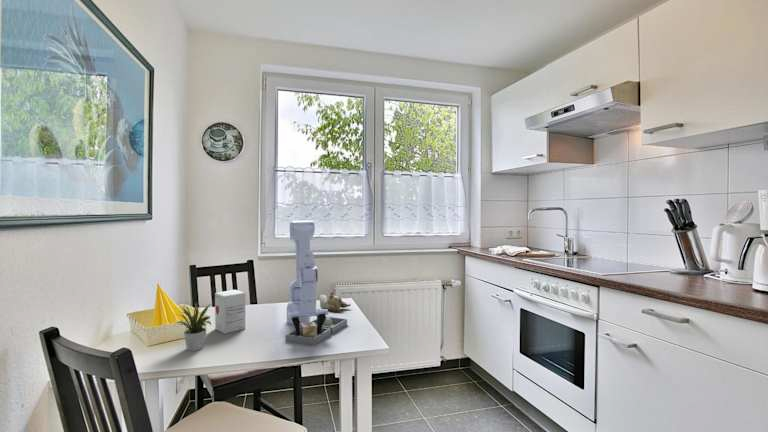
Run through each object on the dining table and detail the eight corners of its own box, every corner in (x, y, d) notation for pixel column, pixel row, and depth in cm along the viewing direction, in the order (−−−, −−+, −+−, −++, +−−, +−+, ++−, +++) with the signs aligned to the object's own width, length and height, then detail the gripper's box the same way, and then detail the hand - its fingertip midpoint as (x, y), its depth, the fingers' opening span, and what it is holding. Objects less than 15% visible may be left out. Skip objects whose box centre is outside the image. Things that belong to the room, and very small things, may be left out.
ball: (320, 328, 150) (320, 318, 150) (325, 325, 154) (325, 315, 154) (328, 329, 149) (328, 319, 149) (333, 326, 152) (333, 316, 152)
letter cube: (303, 341, 136) (303, 327, 135) (300, 336, 140) (300, 323, 140) (316, 339, 138) (316, 325, 137) (313, 335, 142) (313, 321, 142)
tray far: (306, 331, 148) (306, 323, 148) (322, 322, 159) (322, 315, 159) (332, 335, 144) (332, 327, 144) (347, 326, 155) (347, 319, 155)
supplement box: (214, 329, 151) (214, 292, 151) (235, 324, 157) (235, 289, 157) (224, 334, 145) (223, 296, 144) (246, 328, 151) (245, 292, 151)
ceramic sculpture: (326, 288, 187) (352, 293, 181) (325, 305, 188) (351, 310, 182) (313, 293, 178) (340, 298, 171) (313, 310, 178) (339, 316, 172)
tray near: (285, 342, 136) (285, 334, 135) (304, 332, 147) (304, 325, 147) (313, 347, 131) (313, 338, 131) (330, 336, 142) (330, 328, 142)
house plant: (164, 360, 120) (164, 309, 120) (170, 345, 133) (169, 300, 132) (213, 353, 126) (213, 305, 125) (214, 339, 138) (213, 296, 138)
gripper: (290, 304, 132) (290, 342, 132) (330, 300, 138) (330, 336, 138) (287, 299, 139) (287, 335, 139) (325, 296, 144) (325, 330, 144)
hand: (308, 335), depth 139 cm, fingers open, 7 cm apart
